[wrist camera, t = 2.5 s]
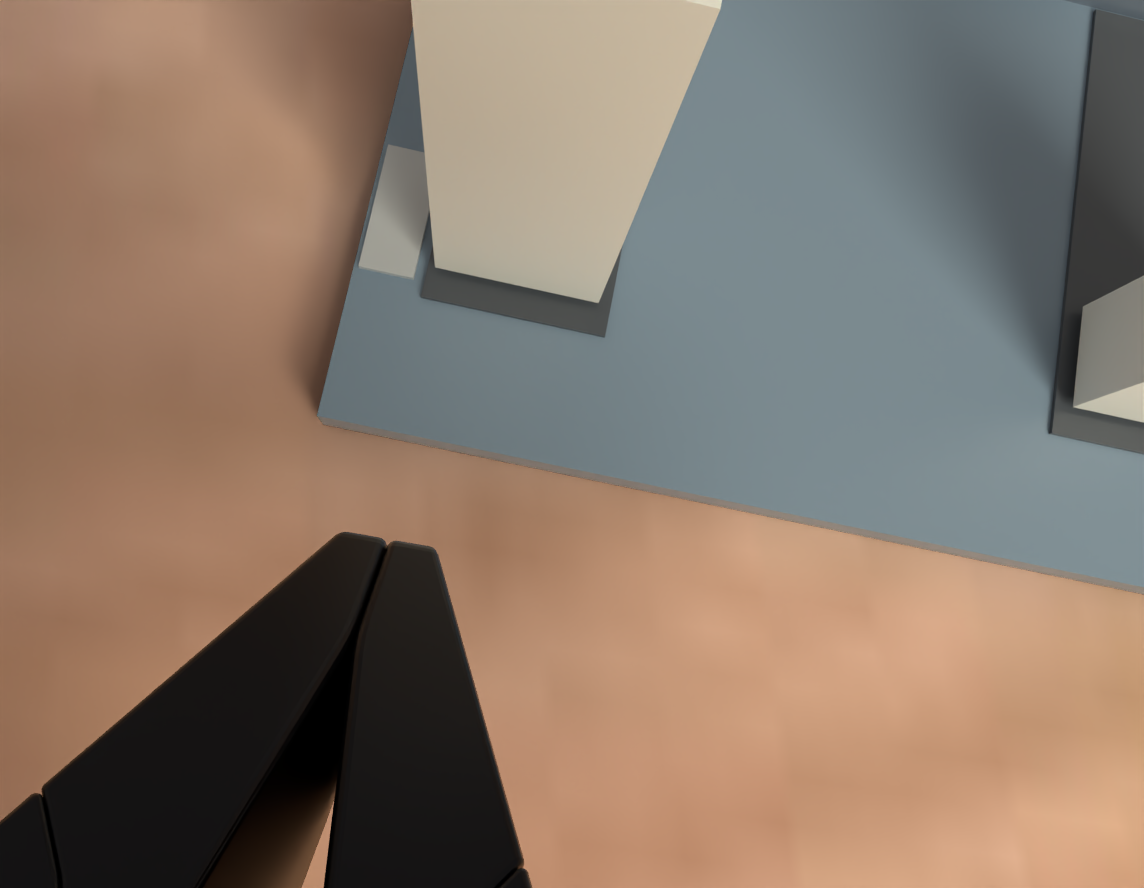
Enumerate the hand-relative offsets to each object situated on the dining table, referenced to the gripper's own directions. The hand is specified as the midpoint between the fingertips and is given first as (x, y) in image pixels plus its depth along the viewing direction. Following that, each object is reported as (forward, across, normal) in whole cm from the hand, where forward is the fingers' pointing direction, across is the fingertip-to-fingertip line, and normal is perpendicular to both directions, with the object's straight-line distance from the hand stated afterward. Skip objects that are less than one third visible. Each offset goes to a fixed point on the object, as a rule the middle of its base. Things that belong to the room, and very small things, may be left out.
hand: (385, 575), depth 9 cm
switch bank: (+13, -7, +1) cm, 14 cm away
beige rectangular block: (+11, -1, +1) cm, 11 cm away
